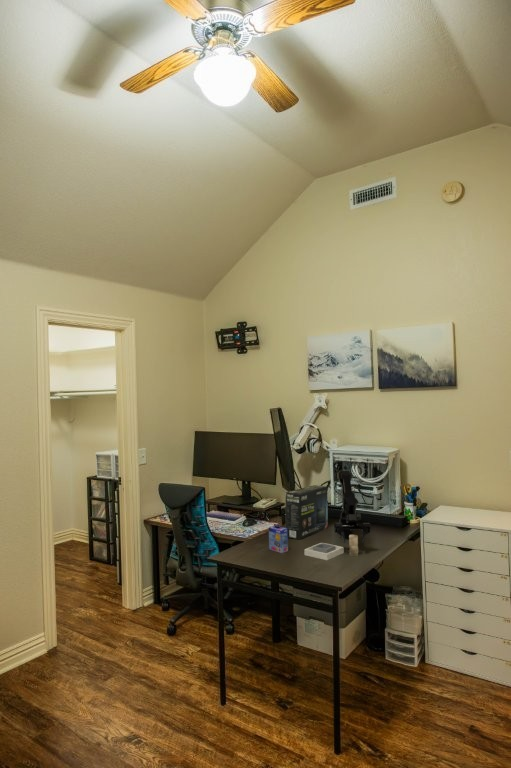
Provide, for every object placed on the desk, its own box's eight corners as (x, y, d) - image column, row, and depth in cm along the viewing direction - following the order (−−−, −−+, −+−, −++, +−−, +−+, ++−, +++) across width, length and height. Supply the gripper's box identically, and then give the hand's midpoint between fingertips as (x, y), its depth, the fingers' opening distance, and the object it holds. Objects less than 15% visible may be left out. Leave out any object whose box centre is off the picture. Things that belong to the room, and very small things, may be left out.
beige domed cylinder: (348, 555, 249) (347, 535, 250) (352, 553, 253) (351, 534, 253) (355, 556, 246) (355, 537, 247) (359, 554, 250) (359, 535, 250)
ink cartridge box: (268, 549, 261) (267, 522, 262) (275, 547, 265) (274, 521, 266) (281, 553, 254) (281, 525, 255) (288, 551, 258) (288, 523, 259)
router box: (300, 540, 279) (299, 494, 280) (284, 537, 285) (283, 492, 287) (329, 527, 308) (328, 485, 309) (314, 525, 314) (313, 484, 316)
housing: (304, 555, 251) (304, 547, 251) (321, 548, 263) (321, 540, 263) (327, 560, 241) (327, 552, 242) (343, 552, 253) (343, 545, 254)
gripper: (334, 507, 256) (336, 533, 244) (369, 507, 254) (373, 534, 242) (333, 519, 263) (335, 545, 252) (368, 519, 261) (371, 545, 250)
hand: (353, 542), depth 249 cm, fingers open, 9 cm apart
